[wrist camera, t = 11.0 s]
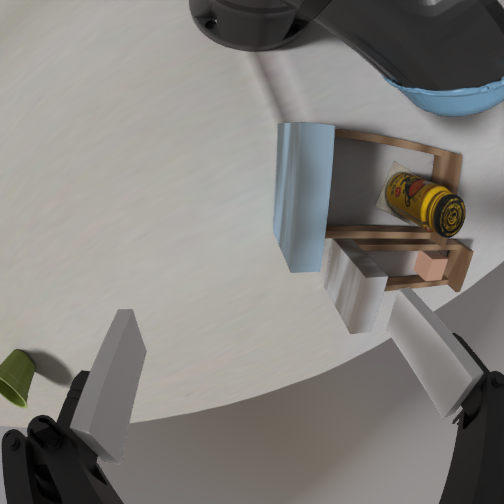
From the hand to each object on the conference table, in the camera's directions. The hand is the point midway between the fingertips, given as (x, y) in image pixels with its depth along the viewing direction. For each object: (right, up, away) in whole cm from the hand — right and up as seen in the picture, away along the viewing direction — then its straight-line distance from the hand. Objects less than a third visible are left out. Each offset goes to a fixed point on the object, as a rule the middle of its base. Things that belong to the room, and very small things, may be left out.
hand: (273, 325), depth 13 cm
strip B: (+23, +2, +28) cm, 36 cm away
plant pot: (-56, -23, +33) cm, 69 cm away
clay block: (+29, +2, +29) cm, 41 cm away
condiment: (+22, +12, +24) cm, 34 cm away
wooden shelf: (+15, +13, +22) cm, 29 cm away
